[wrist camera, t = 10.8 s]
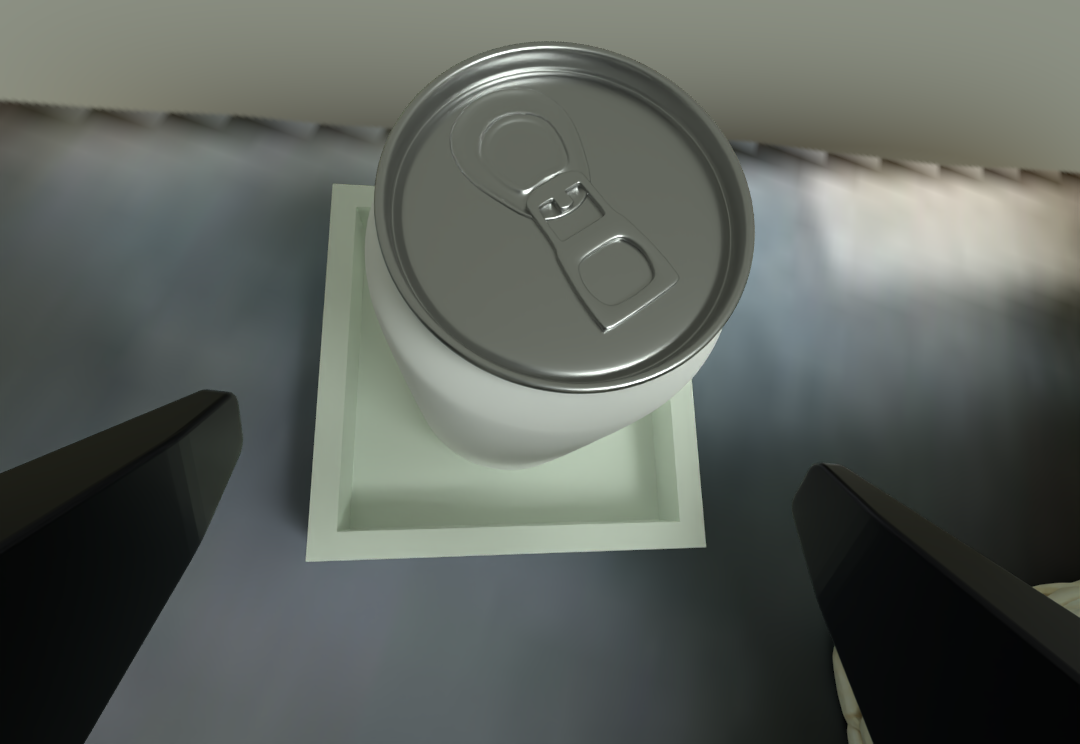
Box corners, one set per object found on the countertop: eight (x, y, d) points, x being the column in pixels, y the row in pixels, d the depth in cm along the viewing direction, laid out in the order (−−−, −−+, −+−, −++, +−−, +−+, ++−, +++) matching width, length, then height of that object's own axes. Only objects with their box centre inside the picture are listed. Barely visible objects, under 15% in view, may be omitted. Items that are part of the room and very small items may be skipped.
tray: (676, 541, 20) (706, 547, 17) (326, 553, 18) (305, 561, 16) (653, 234, 22) (676, 202, 20) (347, 220, 21) (332, 183, 18)
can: (528, 263, 21) (609, -42, 9) (632, 401, 20) (866, 263, 8) (379, 356, 19) (247, 134, 7) (487, 510, 18) (523, 528, 7)
